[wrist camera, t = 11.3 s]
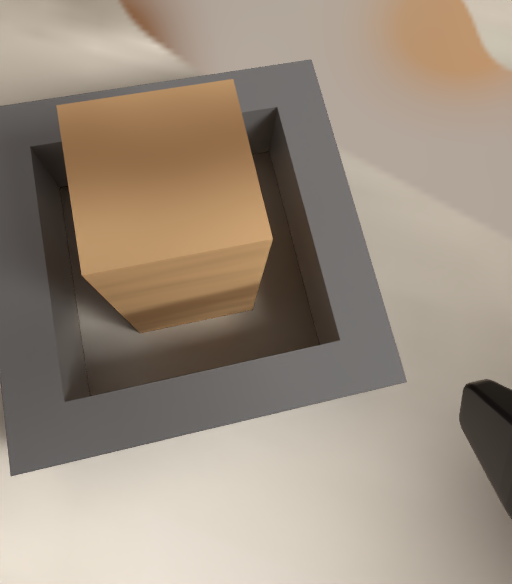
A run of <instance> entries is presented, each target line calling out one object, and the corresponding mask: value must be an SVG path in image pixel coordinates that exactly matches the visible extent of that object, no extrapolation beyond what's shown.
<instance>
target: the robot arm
mask: <svg viewBox="0 0 512 584" xmlns="http://www.w3.org/2000/svg"><path fill="white" fill-rule="evenodd" d="M459 420H460V425H461V428H462V430H463V432H464V434H465V436H466V438H467V439H468V441H469V443H470V445H471V447H472V449H473V451H474V453H475V455H476V456H477V458H478V460H479V462H480V464H481V466H482V468H483V470H484V471H485V473H486V475H487V477H488V479H489V481H490V483H491V485H492V486H493V488H494V490H495V492H496V494H497V496H498V498H499V499H500V501H501V503H502V505H503V506H504V508H505V510H506V511H507V513H508V515H509V516H510V518H511V519H512V390H511V389H509V388H507V387H504V386H502V385H500V384H498V383H496V382H494V381H492V380H488V379H484V380H480V381H476V382H471V383H468V384H466V385H465V387H464V389H463V395H462V401H461V408H460V414H459Z"/></svg>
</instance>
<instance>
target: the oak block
mask: <svg viewBox="0 0 512 584" xmlns="http://www.w3.org/2000/svg"><path fill="white" fill-rule="evenodd" d="M56 106H57V113H58V120H59V126H60V133H61V140H62V147H63V153H64V160H65V167H66V174H67V180H68V187H69V194H70V200H71V207H72V214H73V221H74V227H75V234H76V241H77V248H78V254H79V261H80V268H81V275H82V276H83V277H84V278H85V279H86V280H87V281H88V282H89V283H90V284H91V285H92V286H93V287H94V288H95V289H96V290H97V291H98V292H99V293H100V294H101V295H102V296H103V297H104V298H105V299H106V300H107V301H108V302H109V303H110V304H111V305H112V306H113V307H114V308H115V309H116V310H117V311H118V312H119V313H120V314H121V315H122V316H123V317H124V318H125V319H126V320H127V321H128V322H129V323H130V324H131V325H132V326H133V327H134V328H135V329H136V330H137V331H138V332H140V333H143V332H148V331H153V330H158V329H163V328H167V327H172V326H177V325H182V324H187V323H191V322H196V321H201V320H206V319H210V318H215V317H220V316H225V315H230V314H234V313H239V312H244V311H249V310H253V306H254V303H255V299H256V296H257V292H258V289H259V285H260V282H261V278H262V275H263V271H264V268H265V264H266V261H267V257H268V254H269V250H270V247H271V244H272V240H273V237H272V233H271V229H270V225H269V221H268V217H267V213H266V209H265V205H264V201H263V197H262V193H261V189H260V185H259V181H258V177H257V173H256V169H255V165H254V161H253V157H252V153H251V149H250V145H249V141H248V136H247V132H246V128H245V124H244V120H243V116H242V112H241V108H240V104H239V100H238V96H237V92H236V88H235V84H234V80H233V79H229V80H222V81H216V82H209V83H202V84H196V85H189V86H182V87H176V88H169V89H162V90H156V91H149V92H142V93H136V94H129V95H122V96H115V97H109V98H102V99H95V100H89V101H82V102H75V103H69V104H62V105H56Z"/></svg>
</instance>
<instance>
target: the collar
mask: <svg viewBox="0 0 512 584" xmlns="http://www.w3.org/2000/svg"><path fill="white" fill-rule="evenodd" d="M229 79H233V80H234V84H235V88H236V92H237V96H238V100H239V104H240V108H241V112H242V116H243V120H244V124H245V128H246V132H247V136H248V141H249V145H250V149H251V153H252V154H256V153H262V152H267V151H269V152H270V156H271V159H272V163H273V167H274V171H275V175H276V179H277V182H278V186H279V190H280V194H281V198H282V202H283V206H284V209H285V213H286V217H287V221H288V225H289V229H290V233H291V236H292V240H293V244H294V248H295V252H296V256H297V259H298V263H299V267H300V271H301V275H302V279H303V283H304V286H305V290H306V294H307V298H308V302H309V306H310V310H311V313H312V317H313V321H314V325H315V329H316V333H317V336H318V340H319V344H320V345H317V346H313V347H309V348H304V349H300V350H295V351H291V352H286V353H282V354H277V355H273V356H268V357H264V358H259V359H255V360H250V361H246V362H241V363H237V364H232V365H228V366H224V367H219V368H215V369H210V370H206V371H201V372H197V373H192V374H188V375H183V376H179V377H174V378H170V379H165V380H161V381H156V382H152V383H147V384H143V385H139V386H134V387H130V388H125V389H121V390H116V391H112V392H107V393H103V394H98V395H94V396H90V393H89V386H88V380H87V373H86V366H85V359H84V352H83V345H82V339H81V332H80V325H79V318H78V311H77V304H76V298H75V291H74V284H73V277H72V270H71V263H70V257H69V250H68V243H67V236H66V229H65V222H64V216H63V209H62V202H61V195H60V188H59V187H64V186H68V180H67V174H66V167H65V160H64V153H63V147H62V140H61V133H60V126H59V120H58V113H57V106H56V105H62V104H69V103H75V102H82V101H89V100H95V99H102V98H109V97H115V96H122V95H129V94H136V93H142V92H149V91H156V90H162V89H169V88H176V87H182V86H189V85H196V84H202V83H209V82H216V81H222V80H229ZM0 379H1V388H2V398H3V407H4V417H5V426H6V436H7V445H8V455H9V464H10V474H11V476H14V475H18V474H23V473H27V472H31V471H35V470H39V469H44V468H48V467H52V466H56V465H60V464H65V463H69V462H73V461H77V460H81V459H86V458H90V457H94V456H98V455H102V454H107V453H111V452H115V451H119V450H123V449H128V448H132V447H136V446H140V445H144V444H149V443H153V442H157V441H161V440H165V439H170V438H174V437H178V436H182V435H186V434H191V433H195V432H199V431H203V430H207V429H212V428H216V427H220V426H224V425H228V424H233V423H237V422H241V421H245V420H249V419H254V418H258V417H262V416H266V415H270V414H274V413H279V412H283V411H287V410H291V409H295V408H300V407H304V406H308V405H312V404H316V403H321V402H325V401H329V400H333V399H337V398H342V397H346V396H350V395H354V394H358V393H363V392H367V391H371V390H375V389H379V388H384V387H388V386H392V385H396V384H400V383H405V382H407V381H406V377H405V374H404V370H403V367H402V364H401V360H400V357H399V354H398V350H397V347H396V343H395V340H394V337H393V333H392V330H391V327H390V323H389V320H388V316H387V313H386V310H385V306H384V303H383V300H382V296H381V293H380V289H379V286H378V283H377V279H376V276H375V273H374V269H373V266H372V262H371V259H370V256H369V252H368V249H367V246H366V242H365V239H364V235H363V232H362V229H361V225H360V222H359V219H358V215H357V212H356V208H355V205H354V202H353V198H352V195H351V192H350V188H349V185H348V181H347V178H346V175H345V171H344V168H343V165H342V161H341V158H340V154H339V151H338V148H337V144H336V141H335V138H334V134H333V131H332V128H331V124H330V121H329V118H328V114H327V110H326V107H325V104H324V100H323V97H322V94H321V90H320V87H319V84H318V80H317V77H316V73H315V70H314V67H313V64H312V60H305V61H298V62H291V63H285V64H278V65H271V66H265V67H258V68H251V69H245V70H239V71H231V72H226V73H219V74H211V75H205V76H198V77H191V78H185V79H178V80H172V81H165V82H158V83H152V84H145V85H138V86H132V87H125V88H118V89H112V90H105V91H98V92H92V93H85V94H78V95H72V96H65V97H58V98H52V99H45V100H39V101H32V102H25V103H19V104H12V105H5V106H0Z"/></svg>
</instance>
